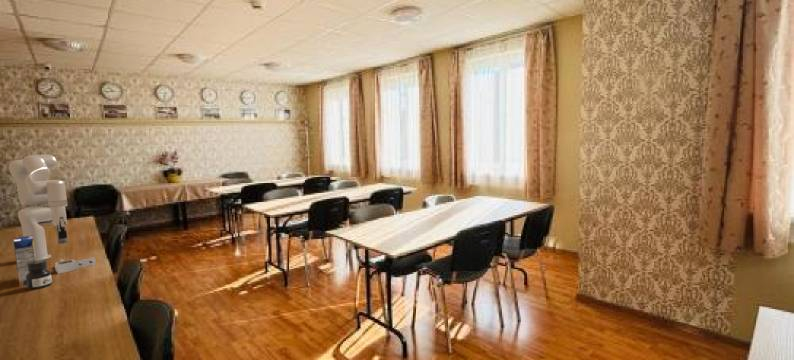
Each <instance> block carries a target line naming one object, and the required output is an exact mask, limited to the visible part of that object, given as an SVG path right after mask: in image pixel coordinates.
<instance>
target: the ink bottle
mask: <svg viewBox="0 0 794 360" xmlns="http://www.w3.org/2000/svg"><path fill="white" fill-rule="evenodd" d="M27 267H28V271H29V273H28V274H27V275H26V282H27V285H26V287H27V289H28V290H38V289H43V288H46V287H49V286H51V285H52V284H53V280H52V272H51V270H50V269H48V264H47V259H45V260H38V261H33V262H29V263H27Z"/></svg>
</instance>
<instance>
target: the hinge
mask: <svg viewBox="0 0 794 360" xmlns="http://www.w3.org/2000/svg"><path fill="white" fill-rule="evenodd" d="M94 265H95V266H96V257H94V256H93V257H88V258H84V259H79V260H75V259H73V258H72V259H67V260H65V259H63V258H59V261H57V262H54V268H55V269H54V270H55V272H56V273H57V275H58V274H64V273H67V272H74V271H77V270H78V269H82V268H84V267H85V268H86V267H89V266H94Z"/></svg>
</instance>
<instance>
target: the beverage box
mask: <svg viewBox="0 0 794 360" xmlns="http://www.w3.org/2000/svg"><path fill="white" fill-rule="evenodd" d="M13 247H14V253H15V254H14V255H15V260H16V261H15V262H16V268H17V275H18V283H19V287H22V286H27V282H26V275H27V274H28V273H29V271H28V267H27V263H29V262H33V261H36V258H35V250H34V243H33V236H25V237H23V236H19V237H14V238H13Z"/></svg>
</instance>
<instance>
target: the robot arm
mask: <svg viewBox="0 0 794 360" xmlns="http://www.w3.org/2000/svg"><path fill="white" fill-rule="evenodd" d="M57 166H58V160H57V158H56V157H55V156H54V155H52V154H30V155H26V156H24V157H23V159H16V160H12V161H11V162H9V166H8V168H9V172H10V175H11V176H12V178H13V180H14V181H15V183H16V187H17V188H16V190H17V195H18V199H19V202H20V204H21V205H22V206H30V207H25V208H22V209H20V210H19V211H18V215H17V216H18V219H19V222H20V225H21V229H22V237H25V236H33V243H34V250H35V258H36V261H38V260H49V259H50V258H52V255H51V254H48V248H47V247H48V245H47V240H46V233H45V232H46V231H45V228H44V227H43V226H42V225H40V224H39V223H44V222H49V221H52V225H53V226H55V227H56V230H59V232H58V233H59V239H63V238H67V239H68V234H67V233H68V232H67V228H66V227H67V226H66V225H67V224H68V220H67V211H66V207H67V206H69V205H68V200H67V198H68V197H67V191H66V189H67V188H66V183H65V182H64V180H60V179H50V180H49V179H48V180H47V178H48V177H50V174H51V171H53V170H55V169H56V168H57ZM45 179H46V180H45ZM41 204H44V205H41ZM32 205H35V206H32ZM36 205H37V206H36ZM39 205H40V206H39Z"/></svg>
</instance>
